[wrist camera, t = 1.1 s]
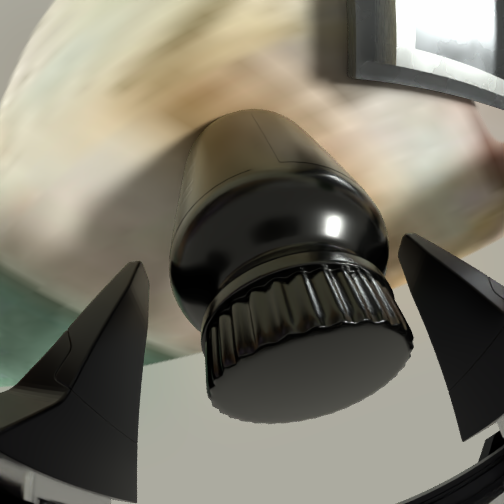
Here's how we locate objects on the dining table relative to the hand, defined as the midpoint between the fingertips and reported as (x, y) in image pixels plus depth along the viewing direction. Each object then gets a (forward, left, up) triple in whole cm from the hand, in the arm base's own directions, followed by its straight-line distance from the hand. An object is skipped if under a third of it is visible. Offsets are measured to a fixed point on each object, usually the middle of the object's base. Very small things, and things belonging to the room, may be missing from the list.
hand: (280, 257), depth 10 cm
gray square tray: (-12, -12, -7) cm, 18 cm away
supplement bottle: (0, 0, -8) cm, 8 cm away
